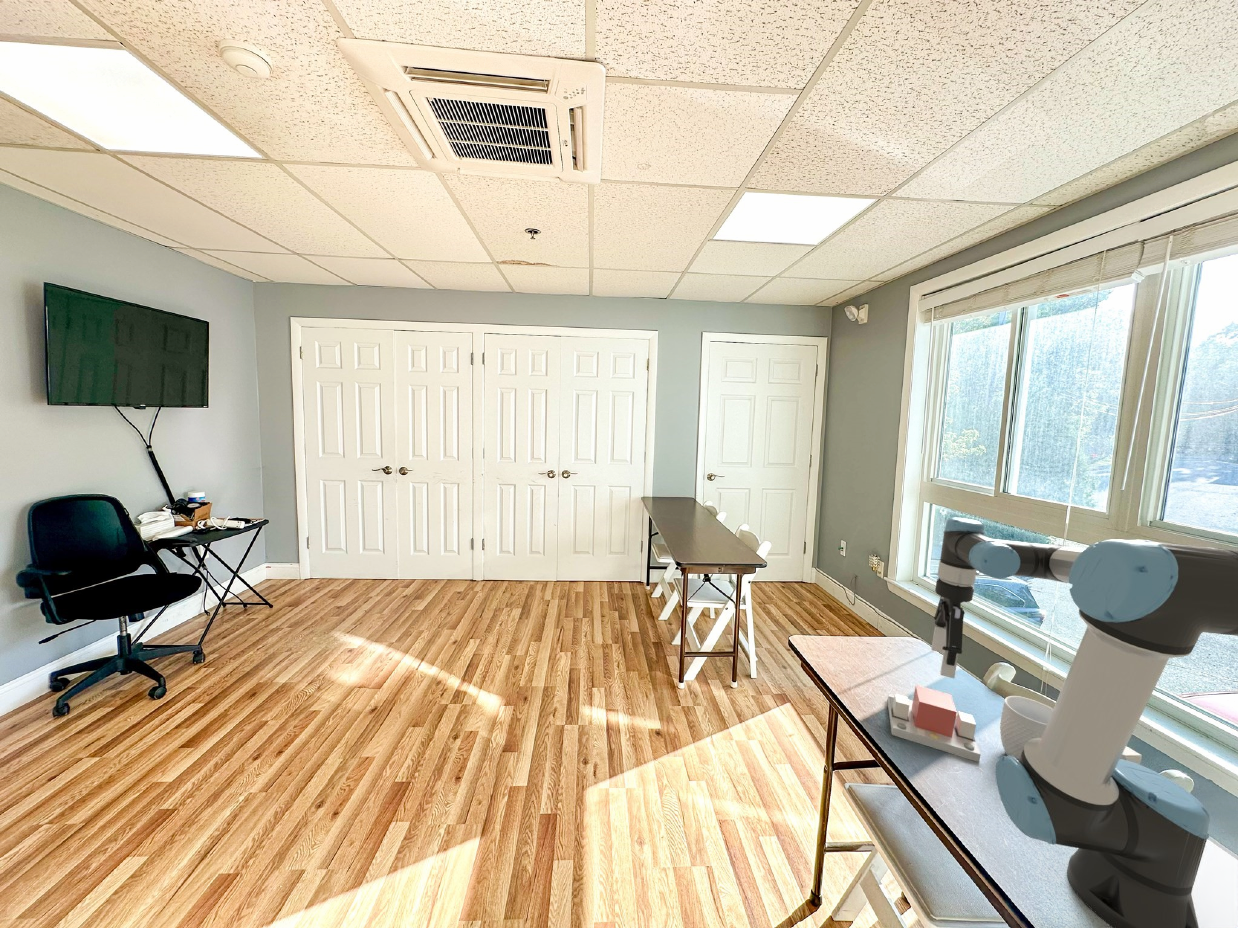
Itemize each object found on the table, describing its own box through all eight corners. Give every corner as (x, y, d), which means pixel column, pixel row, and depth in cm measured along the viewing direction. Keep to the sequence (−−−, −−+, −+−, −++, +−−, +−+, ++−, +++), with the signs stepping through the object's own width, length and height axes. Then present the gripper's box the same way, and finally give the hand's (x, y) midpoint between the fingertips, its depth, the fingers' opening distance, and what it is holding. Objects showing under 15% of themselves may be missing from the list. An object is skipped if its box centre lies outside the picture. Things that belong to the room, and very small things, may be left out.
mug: (1084, 778, 109) (1095, 726, 107) (1068, 798, 103) (1081, 743, 101) (1004, 737, 122) (1014, 690, 120) (987, 753, 115) (996, 703, 114)
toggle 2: (973, 739, 117) (976, 724, 116) (958, 734, 118) (961, 720, 117) (969, 729, 120) (972, 715, 120) (955, 725, 122) (958, 711, 121)
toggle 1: (907, 719, 123) (909, 705, 122) (893, 715, 124) (896, 701, 123) (905, 710, 126) (907, 696, 126) (892, 707, 127) (894, 693, 127)
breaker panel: (979, 761, 112) (980, 753, 112) (891, 734, 120) (893, 726, 120) (964, 722, 127) (966, 714, 126) (887, 699, 134) (888, 692, 134)
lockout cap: (951, 737, 117) (956, 711, 116) (915, 726, 120) (919, 701, 119) (946, 718, 124) (950, 694, 123) (911, 708, 127) (915, 684, 126)
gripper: (987, 602, 104) (971, 693, 107) (963, 569, 126) (950, 645, 129) (946, 594, 107) (932, 682, 110) (929, 564, 130) (918, 638, 132)
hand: (942, 662), depth 119 cm, fingers open, 13 cm apart
